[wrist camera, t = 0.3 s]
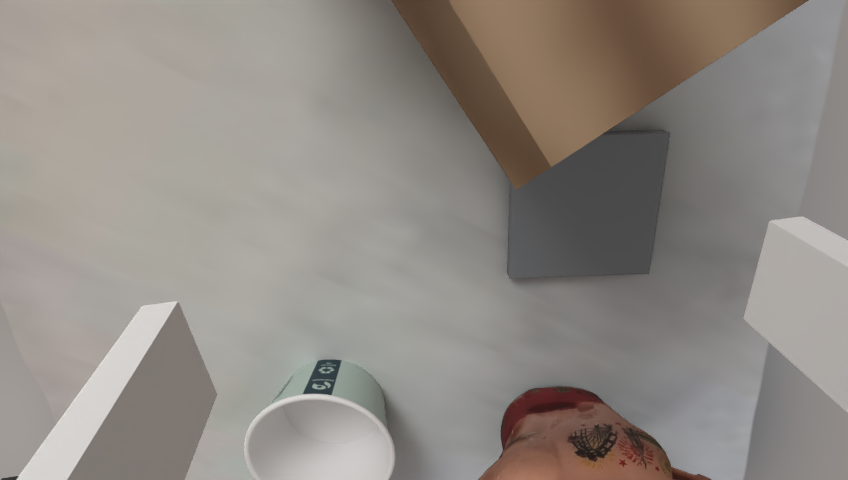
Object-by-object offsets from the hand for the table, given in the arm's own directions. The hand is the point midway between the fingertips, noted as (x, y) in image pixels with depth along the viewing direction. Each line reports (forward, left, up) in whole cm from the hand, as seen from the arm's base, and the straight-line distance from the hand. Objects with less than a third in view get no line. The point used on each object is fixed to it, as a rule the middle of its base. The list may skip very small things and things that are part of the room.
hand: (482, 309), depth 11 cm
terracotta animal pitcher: (+27, +11, -26) cm, 39 cm away
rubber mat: (+6, +10, -26) cm, 28 cm away
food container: (+24, -11, -26) cm, 37 cm away
